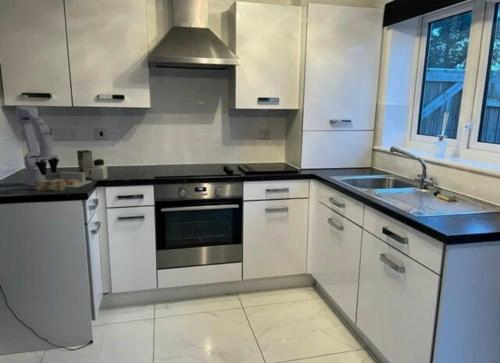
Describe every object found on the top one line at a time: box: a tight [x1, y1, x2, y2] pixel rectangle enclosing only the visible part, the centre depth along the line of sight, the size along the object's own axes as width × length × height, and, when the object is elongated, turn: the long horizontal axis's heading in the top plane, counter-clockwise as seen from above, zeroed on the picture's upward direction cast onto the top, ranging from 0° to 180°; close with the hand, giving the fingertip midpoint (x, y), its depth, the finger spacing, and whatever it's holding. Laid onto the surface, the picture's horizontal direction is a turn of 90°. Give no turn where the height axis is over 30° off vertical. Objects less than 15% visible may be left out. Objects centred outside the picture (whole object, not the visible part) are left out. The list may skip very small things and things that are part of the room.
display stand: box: [54, 171, 92, 189], centre depth 209 cm, size 20×15×6 cm
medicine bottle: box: [91, 158, 109, 181], centre depth 224 cm, size 7×7×12 cm
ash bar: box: [34, 179, 66, 192], centre depth 196 cm, size 14×4×5 cm, turn 84°
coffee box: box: [76, 149, 94, 178], centre depth 233 cm, size 9×6×16 cm
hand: (48, 173), depth 195 cm, fingers open, 7 cm apart
